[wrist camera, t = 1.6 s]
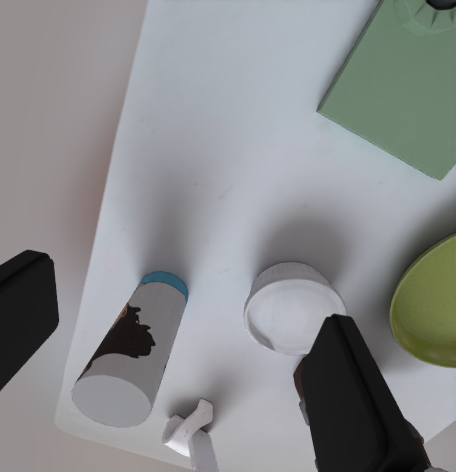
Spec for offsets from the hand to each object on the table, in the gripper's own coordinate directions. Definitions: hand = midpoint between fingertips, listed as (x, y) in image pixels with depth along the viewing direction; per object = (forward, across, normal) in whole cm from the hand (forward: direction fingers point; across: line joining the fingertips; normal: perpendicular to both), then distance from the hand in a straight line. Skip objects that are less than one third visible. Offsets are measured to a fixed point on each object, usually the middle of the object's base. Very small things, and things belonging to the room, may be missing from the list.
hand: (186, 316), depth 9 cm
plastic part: (+22, -3, +43) cm, 48 cm away
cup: (+22, +6, +17) cm, 28 cm away
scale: (+22, -15, -13) cm, 30 cm away
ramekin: (+22, -10, +12) cm, 27 cm away
